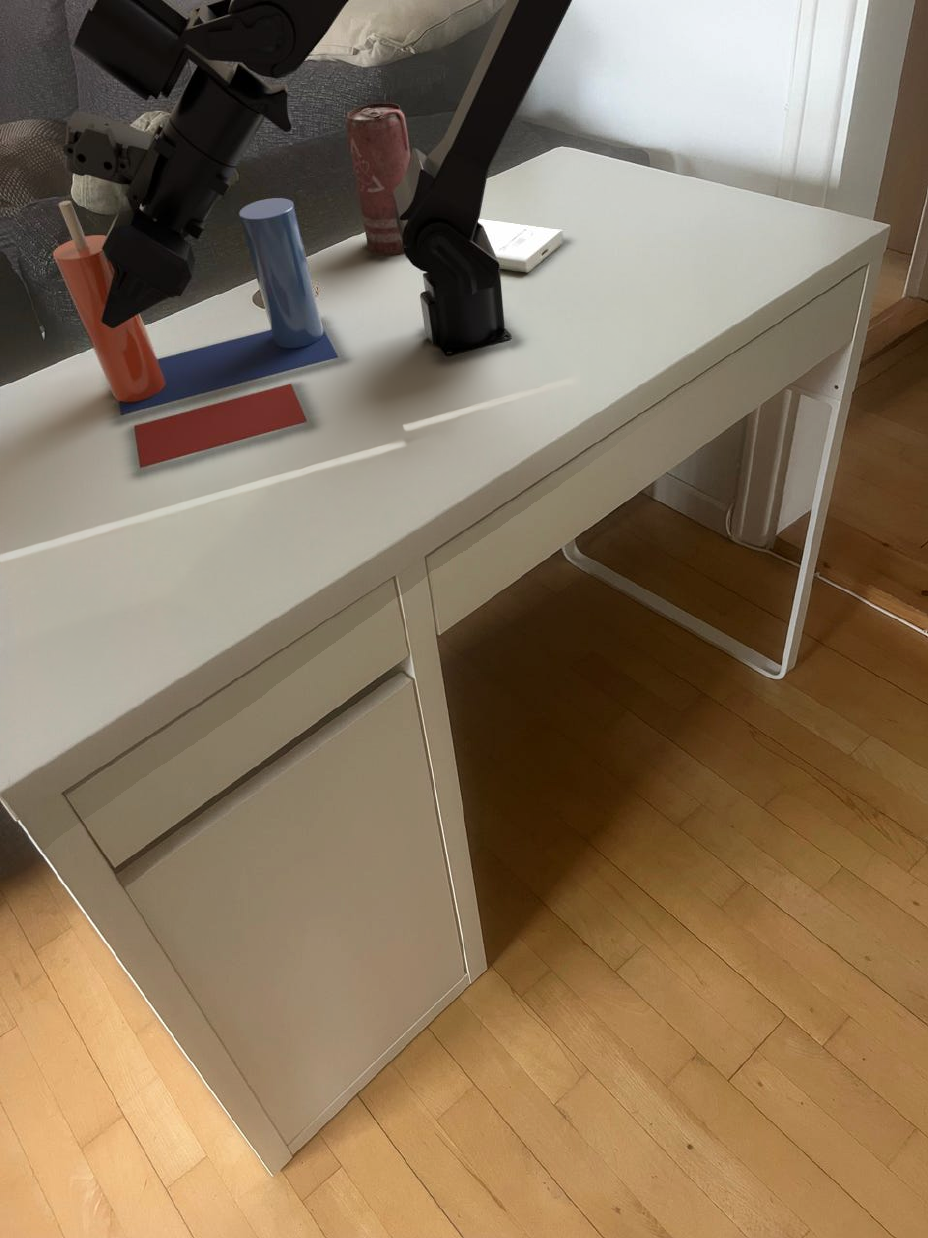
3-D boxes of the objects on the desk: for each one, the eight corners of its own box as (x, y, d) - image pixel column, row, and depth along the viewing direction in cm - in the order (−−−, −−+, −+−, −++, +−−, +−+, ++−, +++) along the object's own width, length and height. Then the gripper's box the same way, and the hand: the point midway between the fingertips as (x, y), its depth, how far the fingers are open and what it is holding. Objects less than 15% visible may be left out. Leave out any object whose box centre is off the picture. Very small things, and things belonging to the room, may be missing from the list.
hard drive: (465, 229, 102) (563, 242, 97) (426, 259, 98) (526, 274, 92) (464, 215, 101) (563, 227, 96) (424, 244, 96) (525, 258, 91)
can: (418, 258, 98) (397, 117, 88) (362, 260, 99) (336, 121, 89) (430, 235, 102) (412, 98, 92) (377, 237, 103) (353, 102, 94)
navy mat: (318, 322, 89) (317, 317, 89) (339, 361, 83) (338, 356, 83) (116, 374, 86) (114, 369, 86) (122, 419, 80) (120, 414, 80)
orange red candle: (163, 369, 85) (93, 186, 73) (168, 393, 81) (96, 205, 70) (112, 383, 84) (34, 200, 72) (115, 407, 81) (33, 219, 69)
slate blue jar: (317, 320, 89) (287, 193, 80) (328, 340, 85) (298, 210, 77) (270, 332, 88) (235, 205, 80) (279, 353, 85) (243, 223, 76)
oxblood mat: (292, 388, 81) (290, 383, 80) (308, 425, 76) (307, 420, 75) (136, 430, 78) (134, 425, 78) (142, 472, 73) (140, 467, 73)
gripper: (120, 39, 72) (41, 203, 80) (80, 102, 59) (-10, 293, 66) (244, 131, 78) (160, 276, 85) (234, 208, 64) (135, 372, 72)
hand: (115, 300), depth 77 cm, fingers open, 9 cm apart
